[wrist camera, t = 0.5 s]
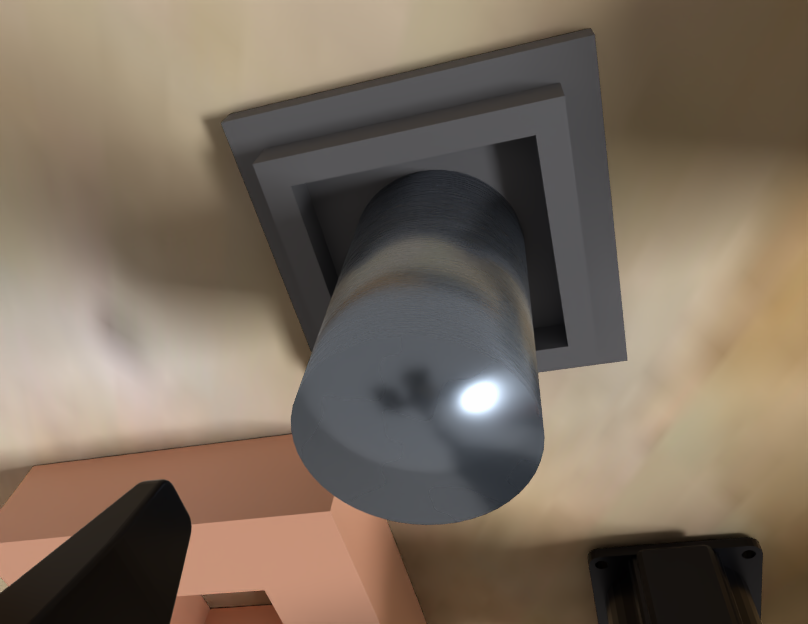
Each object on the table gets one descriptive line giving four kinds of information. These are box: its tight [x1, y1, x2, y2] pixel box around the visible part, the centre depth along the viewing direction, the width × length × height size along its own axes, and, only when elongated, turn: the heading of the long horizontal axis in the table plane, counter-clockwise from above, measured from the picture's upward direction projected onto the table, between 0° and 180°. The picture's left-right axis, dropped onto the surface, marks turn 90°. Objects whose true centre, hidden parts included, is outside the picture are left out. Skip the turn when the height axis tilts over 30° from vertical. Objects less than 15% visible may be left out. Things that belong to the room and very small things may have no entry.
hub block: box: [0, 434, 427, 624], centre depth 29 cm, size 14×14×4 cm
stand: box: [221, 28, 627, 372], centre depth 20 cm, size 10×10×2 cm
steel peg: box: [291, 170, 544, 525], centre depth 17 cm, size 5×5×8 cm
